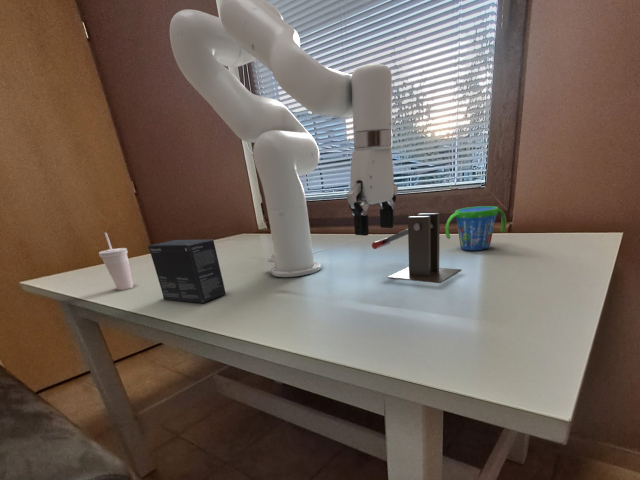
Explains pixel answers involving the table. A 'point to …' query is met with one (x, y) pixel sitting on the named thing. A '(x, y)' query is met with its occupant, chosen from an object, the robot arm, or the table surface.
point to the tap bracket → (424, 251)
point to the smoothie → (117, 266)
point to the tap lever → (392, 238)
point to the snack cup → (476, 226)
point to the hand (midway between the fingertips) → (374, 231)
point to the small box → (188, 270)
